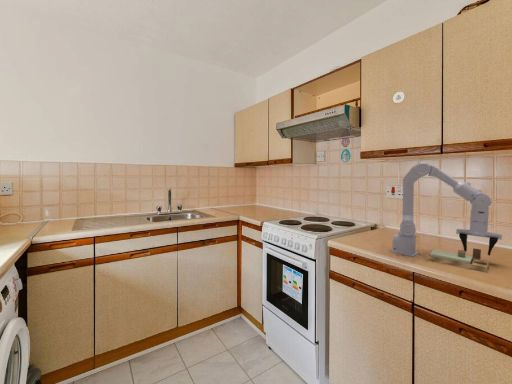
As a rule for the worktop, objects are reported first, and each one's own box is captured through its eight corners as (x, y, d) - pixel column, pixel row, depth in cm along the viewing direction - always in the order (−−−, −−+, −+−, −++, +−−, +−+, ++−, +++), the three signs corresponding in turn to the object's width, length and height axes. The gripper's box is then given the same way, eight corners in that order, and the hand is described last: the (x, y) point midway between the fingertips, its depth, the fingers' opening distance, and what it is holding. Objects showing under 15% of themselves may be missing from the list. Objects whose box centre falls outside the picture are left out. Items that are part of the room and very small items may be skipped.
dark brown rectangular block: (472, 261, 109) (473, 248, 109) (480, 263, 108) (481, 249, 107) (472, 263, 108) (473, 249, 107) (479, 264, 106) (480, 250, 106)
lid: (429, 255, 109) (430, 247, 109) (434, 251, 115) (434, 243, 115) (470, 263, 99) (470, 255, 99) (472, 258, 106) (473, 250, 106)
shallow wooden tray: (426, 261, 110) (426, 255, 109) (431, 256, 117) (431, 251, 116) (486, 273, 96) (487, 267, 96) (488, 267, 103) (488, 261, 103)
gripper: (455, 220, 109) (454, 251, 110) (502, 225, 99) (500, 259, 100) (458, 218, 114) (456, 247, 115) (502, 223, 104) (500, 255, 105)
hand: (476, 252), depth 108 cm, fingers open, 7 cm apart
